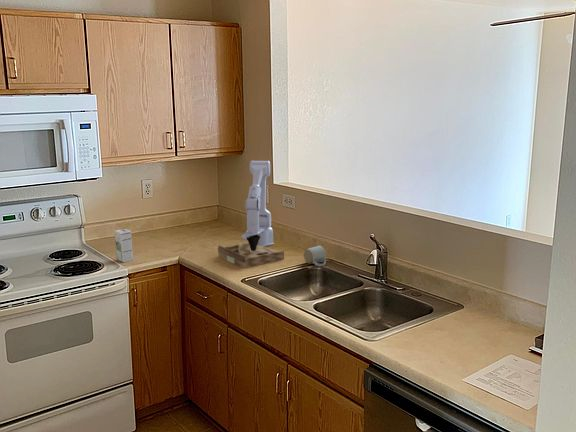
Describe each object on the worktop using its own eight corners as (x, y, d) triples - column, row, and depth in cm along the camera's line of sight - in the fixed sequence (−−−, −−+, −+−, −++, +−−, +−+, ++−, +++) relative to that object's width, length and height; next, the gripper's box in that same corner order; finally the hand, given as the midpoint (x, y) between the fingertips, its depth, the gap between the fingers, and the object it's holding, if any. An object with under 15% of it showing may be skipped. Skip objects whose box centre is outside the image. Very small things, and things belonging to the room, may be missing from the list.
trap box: (257, 248, 290) (257, 238, 289) (284, 258, 273) (284, 247, 272) (218, 256, 277) (218, 245, 275) (243, 268, 260) (243, 256, 258)
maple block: (247, 251, 277) (247, 242, 276) (249, 253, 273) (249, 244, 272) (238, 252, 275) (238, 243, 274) (240, 254, 271) (240, 245, 270)
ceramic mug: (302, 262, 269) (302, 246, 267) (316, 259, 273) (317, 243, 271) (315, 268, 260) (316, 252, 258) (330, 265, 265) (330, 249, 263)
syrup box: (133, 260, 271) (131, 230, 267) (122, 262, 267) (120, 232, 263) (127, 257, 275) (125, 228, 271) (116, 260, 271) (114, 230, 267)
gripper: (256, 218, 280) (256, 245, 283) (236, 224, 269) (236, 252, 272) (267, 221, 276) (267, 248, 279) (247, 226, 265) (248, 254, 268)
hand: (253, 250), depth 275 cm, fingers closed
